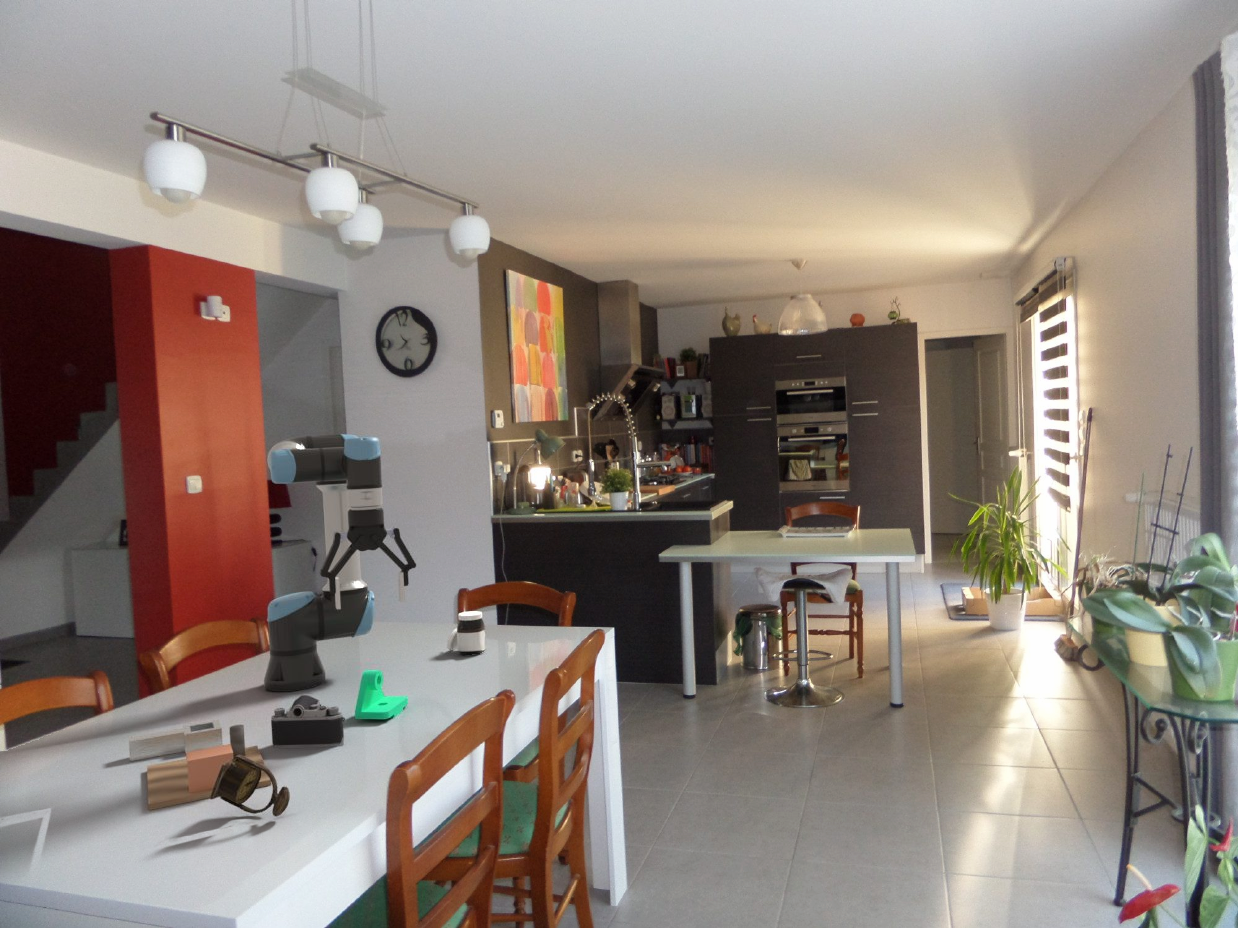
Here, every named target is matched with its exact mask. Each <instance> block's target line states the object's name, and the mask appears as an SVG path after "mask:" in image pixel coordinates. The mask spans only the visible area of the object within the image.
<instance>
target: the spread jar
mask: <svg viewBox="0 0 1238 928" xmlns="http://www.w3.org/2000/svg"><path fill="white" fill-rule="evenodd" d="M457 617H458V622H457V625H456V628H455V629H453V631H452V632H451V633H450V635H449V636H448V637H447V638H448V639H447V642H446V648H447V649H448V650H449V651H452V650H455V649H457V652H458V655H460V654H461V656H465V655H470V656H473V655H472V654H478V655H481V654H480V653H482V652H484V651H485V652H486V646H487V645H486V644H487V643H486V625H485V621H484V619H483V612H482V611H479V610H478V611H477V610H472V611H471V610H469V611H462V612H459V613H458V616H457ZM455 651H456V650H455ZM452 652H453V651H452ZM485 652H484V653H485ZM482 654H483V653H482Z"/></svg>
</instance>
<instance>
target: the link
mask: <svg viewBox="0 0 1238 928" xmlns="http://www.w3.org/2000/svg"><path fill="white" fill-rule="evenodd" d="M128 745H129V746H128V751H129V761H130V762H133V761H140V760H144V759H145V760H146V759H150V758H156V757H160V756H169V755H173V754H178V753H185V755H186V752H189V751H195V750H200V749H206V748H211V747H217V746H222V745H223V729H222V725H221V722H220V719H215V720H214V719H213V720H210V721H204V722H198V723H190V724H185V725H182V728H177V729H171V730H166V731H161V732H160V731H159V732H155V733H148V734H141V735H135V736H131V737H130V736H129V737H128Z"/></svg>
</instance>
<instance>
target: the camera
mask: <svg viewBox="0 0 1238 928" xmlns="http://www.w3.org/2000/svg"><path fill="white" fill-rule="evenodd" d="M339 709H340V708H339V706H338V705H337V706H336V705H335V706H331V707H330V706H329V705H322V703H321V701H320V699H318V698H316V697H314V696H313V695H310V694H305V693H304V694H303V693H302V694H301V695H300V696H298V697H297V698H296V699H294V701H293V703H292V705H291V707H289V708H288V709H285V707H277V708H274V710H273V711H274V713H273V715H271V717H270V718H271V719H270V721H271V722H270V724H271V742H272V744H271V745H272V747H273V748H274V749H283V748H284V749H288V748H289V749H290V748H292V749H293V748H294V749H295V748H329V747H330V748H332V747H339V746H342V745H344V742H345V736H344V734H345V733H344V722H345V721H346V717H344V715H343V713H342V712H340V711H339ZM285 711H286V712H285Z"/></svg>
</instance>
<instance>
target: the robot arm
mask: <svg viewBox="0 0 1238 928" xmlns="http://www.w3.org/2000/svg"><path fill="white" fill-rule="evenodd" d="M381 455H382V450H381V444H380V439H379V438H378V437H375V436H367V437H363V436H362V437H359V436H357V435H355V434H349V433H348V434H346V433H343V434H342V433H339V434H323V435H322V434H320V435H319V434H317V435H299V436H293V437H289V438H286V439H283V440H281V441H278V442H276V443H275V444H274V445H273V446H271V447H270V448H269V450H268V452H267V456H266V464H267V468H268V469H269V470H270V478H271V482H272V483H274V484H276V485H277V484H285V485H290V484H300V483H301V484H302V483H303V484H304V483H315V485H316V488H317V489H319V491H321V492H322V502H323V503H322V504H323V517H324V518H323V519H324V521H323V522H324V523H323V524H324V538H325V539H324V540H325V554H326V555H325V557H326V558H325V559H324V562H323V563H322V566H321V569H320V571H319V576H321V577H322V578H327V582H326V583H325V585H324V586H323V587H322V588H321V589H322V590H321V593H322V594H321V595H318V596H315V595H316V594H315V593H314V592H313V591H311V590H310V591H309V590H308V591H306V590H305V591H300V592H295V593H289V594H284V595H282V596H279V597H277V598H275V599H273V600H271V601H270V602H269V604H268V606H267V619H266V621H267V622H268V642H269V644H268V645H269V659H268V664H267V667H266V671H265V674H264V680H263V682H264V683H263V684H264V689H265V690H267V691H271V692H293V691H297V690H298V691H301V690H306V689H309V688H313V687H317V686H319V685H321V684H323V683H325V682H326V679H327V678H326V670H325V668H324V666H323V662H322V660H321V658H320V656H319V655H320V654H319V653H318V647H317V642H319V641H328V640H335V639H343V638H355V637H360V636H365V635H367V634H369V633H370V631H371V630H372V629H373V624H374V620H375V619H374V617H375V604H376V603H375V593H374V591H372V590H370V589H368V584H367V583H366V582H365V581H364V580H363V579H362V571H361V557H360V556H361V553H360V552H366V551H376V550H377V549H380V550H381V551H382V552H383V553H384V554H386V556H387V557H388V558H389V559H390V560H391V561H392V562H393V563H394V564H395V565H397V567H398V568H399V569H400V571H399V570H398V571H397V582H398V600H399V602H401V603H406V599H405V587H407V586H409V572H410V570H412V569H416V567H417V563H416V562H415V560H414V558H413V556H412V555H411V553H410V552H409V550H408V548H407V547H406V545H405V543H404V541H403V539H402V537H401V532H400V531H401V530H400V529H399V528H398V527H395V526H394V527H392V528H389V529H386V527H385V517H384V513H385V512H384V509H383V508H382V507H381V506H383V505H384V500H383V497H384V496H383V484H382V483H383V482H382V481H383V480H382V461H381V460H382V458H381V457H382V456H381ZM388 535H389V537H390V538H391V539H393V541H394V542H395V544H396V546H397V547H398V549H399V551H400V553H401V554H402V556H403V558H404V559H405V561H406V562H407V563H406V564H405V563H404V562H403V561H402V559H400V558H399V557H398V556H397V555H396V554H395V553H394V551H392V550H391V549H390V548H389V547H388V546H387V545H386V544H385V543H384V540H385V539H386V537H387V536H388Z"/></svg>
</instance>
